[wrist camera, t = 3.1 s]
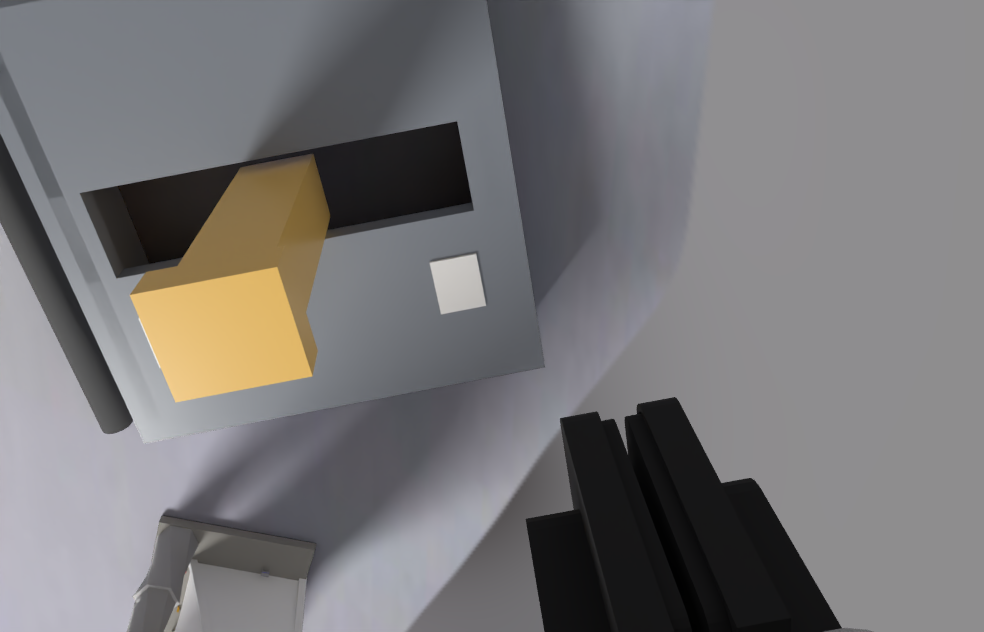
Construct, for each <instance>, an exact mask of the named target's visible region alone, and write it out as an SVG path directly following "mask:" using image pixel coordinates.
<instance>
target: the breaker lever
mask: <svg viewBox="0 0 984 632" xmlns="http://www.w3.org/2000/svg"><path fill="white" fill-rule="evenodd" d="M330 217H331V216H330V212H329V208H328V205H327V201H326V198H325V194H324V190H323V187H322V183H321V180H320V176H319V173H318V169H317V165H316V162H315V158H314V155H313V154H307V155H302V156H297V157H292V158H286V159H281V160H276V161H271V162H265V163H260V164H255V165H249V166H244V167H241V168H240V169H239V171H238V172H237V174H236V175H235V177H234V178H233V180H232V182H231V183H230V185H229V186H228V188H227V189H226V191H225V192H224V194H223V196H222V197H221V199H220V200H219V202H218V203H217V205H216V207H215V208H214V210H213V211H212V213H211V214H210V216H209V217H208V219H207V221H206V222H205V224H204V225H203V227H202V228H201V230H200V231H199V233H198V235H197V236H196V238H195V239H194V241H193V242H192V244H191V246H190V247H189V249H188V250H187V252H186V253H185V255H184V256H183V258H182V260H181V261H180V263H179V264H178V266H175V267H170V268H164V269H159V270H154V271H149V272H146V273H145V274H144V276H143V277H142V278H141V280H140V281H139V283H138V284H137V285H136V287H135V288H134V290H133V291H132V292H131V294H130V297H131V300H132V302H133V304H134V307H135V309H136V311H137V314H138V316H139V318H140V321H141V323H142V325H143V328H144V330H145V332H146V335H147V337H148V339H149V342H150V344H151V346H152V349H153V351H154V353H155V356H156V358H157V360H158V363H159V365H160V367H161V370H162V372H163V374H164V377H165V379H166V382H167V384H168V386H169V389H170V391H171V393H172V396H173V398H174V400H175V403H176V402H181V401H186V400H191V399H197V398H202V397H207V396H212V395H218V394H223V393H228V392H233V391H239V390H244V389H249V388H254V387H260V386H265V385H270V384H275V383H280V382H286V381H291V380H296V379H301V378H307V377H312V376H313V372H314V367H315V362H316V357H317V352H318V349H317V346H316V343H315V340H314V336H313V333H312V330H311V327H310V324H309V320H308V317H307V314H306V311H307V307H308V303H309V299H310V295H311V291H312V287H313V283H314V279H315V275H316V272H317V268H318V264H319V260H320V256H321V252H322V248H323V244H324V240H325V236H326V232H327V228H328V224H329V220H330Z"/></svg>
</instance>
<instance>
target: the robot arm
mask: <svg viewBox="0 0 984 632" xmlns="http://www.w3.org/2000/svg"><path fill="white" fill-rule="evenodd" d="M560 423H561V431H562V437H563V443H564V449H565V456H566V463H567V469H568V476H569V482H570V489H571V495H572V501H573V508H574V510H572V511H567V512H562V513H556V514H550V515H545V516H540V517H534V518H528V519H526V523H527V530H528V535H529V541H530V548H531V553H532V560H533V566H534V571H535V578H536V584H537V590H538V596H539V601H540V607H541V613H542V619H543V625H544V631H545V632H872V631H869V630H863V629H851V628H842V627H841V626H840V624H839V622H838V621H837V619H836V617H835V616H834V614H833V612H832V610H831V609H830V607H829V605H828V603H827V602H826V600H825V598H824V597H823V595H822V593H821V592H820V590H819V588H818V586H817V585H816V583H815V581H814V579H813V578H812V576H811V574H810V572H809V571H808V569H807V567H806V566H805V564H804V562H803V560H802V559H801V557H800V556H799V554H798V552H797V550H796V548H795V547H794V545H793V543H792V542H791V540H790V538H789V536H788V535H787V533H786V531H785V529H784V528H783V526H782V524H781V523H780V521H779V519H778V518H777V516H776V514H775V512H774V511H773V509H772V507H771V505H770V504H769V502H768V500H767V498H766V497H765V495H764V493H763V492H762V490H761V488H760V487H759V485H758V484H757V483H756V481H755V480H753V479H752V478H748V479H742V480H737V481H731V482H725V483H721V482H720V480H719V478H718V476H717V474H716V472H715V470H714V468H713V466H712V464H711V463H710V461H709V459H708V457H707V455H706V453H705V451H704V449H703V447H702V445H701V443H700V441H699V439H698V438H697V436H696V434H695V432H694V430H693V428H692V426H691V424H690V422H689V420H688V418H687V416H686V414H685V412H684V410H683V409H682V407H681V405H680V403H679V401H678V400H677V398H675V397H674V398H668V399H662V400H657V401H652V402H646V403H641V404H638V405H637V415H631V416H626V417H625V429H626V439H627V448H628V454H627V451H626V448H625V446H624V443H623V440H622V438H621V435H620V433H619V430H618V427H617V424H616V422H615V420H614V419H610V420H605V421H601V419H600V416H599V414H598V412H592V413H586V414H581V415H575V416H570V417H564V418H560Z"/></svg>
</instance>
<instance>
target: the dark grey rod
mask: <svg viewBox="0 0 984 632" xmlns="http://www.w3.org/2000/svg"><path fill="white" fill-rule="evenodd" d="M0 223H1V225H2V227H3V229H4V231H5V233H6V235H7V237H8V239H9V241H10V243H11V245H12V247H13V249H14V251H15V253H16V255H17V257H18V259H19V261H20V263H21V265H22V267H23V269H24V272H25V274H26V276H27V278H28V280H29V282H30V284H31V286H32V288H33V290H34V292H35V294H36V296H37V298H38V300H39V302H40V304H41V306H42V308H43V310H44V312H45V314H46V316H47V319H48V321H49V323H50V325H51V327H52V329H53V331H54V333H55V335H56V337H57V339H58V341H59V343H60V345H61V347H62V349H63V351H64V353H65V355H66V357H67V359H68V361H69V363H70V365H71V368H72V370H73V372H74V374H75V376H76V378H77V380H78V382H79V384H80V386H81V388H82V390H83V392H84V394H85V396H86V398H87V400H88V402H89V404H90V406H91V408H92V410H93V412H94V414H95V417H96V419H97V421H98V423H99V425H100V427H101V429H102V431H103V432H104V433H106V434H113V433H117V432H119V431H122V430H124V429H125V428H127V427H128V426H129V425H130V424H131V423H132V421H133V418H132V416H131V414H130V412H129V410H128V408H127V406H126V403H125V401H124V399H123V397H122V395H121V393H120V390H119V388H118V386H117V384H116V382H115V380H114V378H113V375H112V373H111V371H110V369H109V367H108V365H107V362H106V360H105V358H104V356H103V354H102V352H101V349H100V347H99V345H98V343H97V341H96V339H95V337H94V334H93V332H92V330H91V328H90V326H89V324H88V321H87V319H86V317H85V315H84V313H83V311H82V308H81V306H80V304H79V302H78V300H77V298H76V296H75V293H74V291H73V289H72V287H71V285H70V283H69V280H68V278H67V276H66V274H65V272H64V270H63V268H62V265H61V263H60V261H59V259H58V257H57V255H56V252H55V250H54V248H53V246H52V244H51V242H50V239H49V237H48V235H47V233H46V231H45V229H44V227H43V224H42V222H41V220H40V218H39V216H38V214H37V211H36V209H35V207H34V205H33V203H32V201H31V198H30V196H29V194H28V192H27V190H26V188H25V186H24V183H23V181H22V179H21V177H20V175H19V173H18V170H17V168H16V166H15V164H14V162H13V160H12V157H11V155H10V153H9V151H8V149H7V147H6V145H5V142H4V140H3V138H2V136H1V134H0Z"/></svg>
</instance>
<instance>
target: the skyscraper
mask: <svg viewBox="0 0 984 632" xmlns="http://www.w3.org/2000/svg"><path fill="white" fill-rule="evenodd" d="M315 547H316V543H310V542H305V541H299V540H294V539H288V538H283V537H277V536H272V535H266V534H261V533H255V532H250V531H244V530H239V529H233V528H228V527H222V526H217V525H211V524H206V523H200V522H194V521H189V520H183V519H178V518H172V517H167V516H161V519H160V521H159V525H158V531H157V536H156V541H155V546H154V551H153V556H152V561H151V566H150V569H149V571H148V574H147V576H146V578H145V579H144V581H143V583H142V584H141V586H140V587H139V588H138V590H137V591H136V593H135V594H134V596H133V598H134V600H135V604H134V607H133V611H132V615H131V618H130V622H129V625H128V629H127V632H302V627H303V616H304V605H305V594H306V582H307V575H308V571H309V568H310V565H311V562H312V558H313V555H314V552H315Z"/></svg>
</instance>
